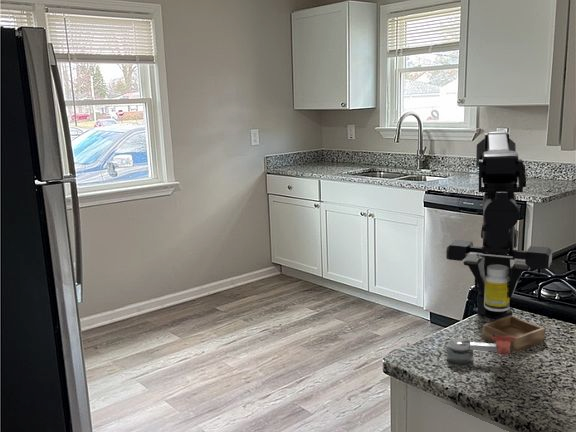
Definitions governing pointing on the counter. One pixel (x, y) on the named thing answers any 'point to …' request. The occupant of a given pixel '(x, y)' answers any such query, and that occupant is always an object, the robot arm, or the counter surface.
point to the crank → (483, 345)
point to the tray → (515, 332)
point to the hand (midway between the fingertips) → (497, 295)
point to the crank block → (459, 357)
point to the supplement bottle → (497, 288)
